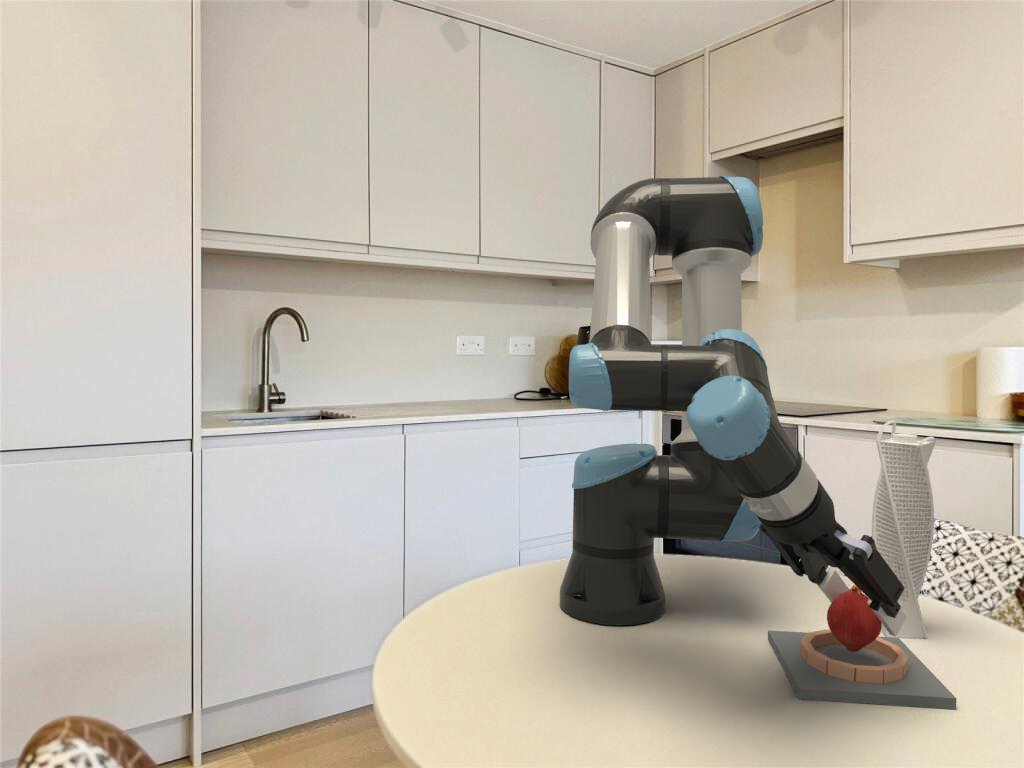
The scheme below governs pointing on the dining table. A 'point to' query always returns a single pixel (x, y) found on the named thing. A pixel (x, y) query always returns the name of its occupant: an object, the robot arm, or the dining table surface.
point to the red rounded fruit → (853, 620)
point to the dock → (857, 671)
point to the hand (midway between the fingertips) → (873, 616)
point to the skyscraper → (905, 519)
